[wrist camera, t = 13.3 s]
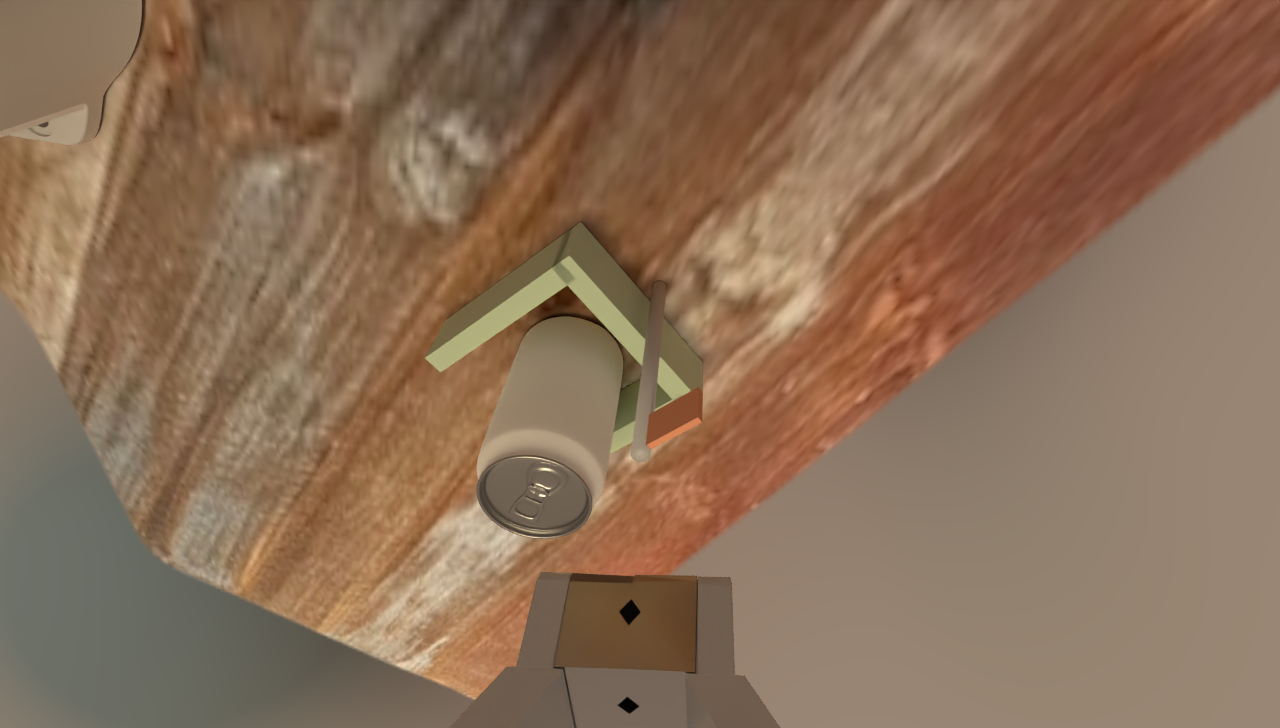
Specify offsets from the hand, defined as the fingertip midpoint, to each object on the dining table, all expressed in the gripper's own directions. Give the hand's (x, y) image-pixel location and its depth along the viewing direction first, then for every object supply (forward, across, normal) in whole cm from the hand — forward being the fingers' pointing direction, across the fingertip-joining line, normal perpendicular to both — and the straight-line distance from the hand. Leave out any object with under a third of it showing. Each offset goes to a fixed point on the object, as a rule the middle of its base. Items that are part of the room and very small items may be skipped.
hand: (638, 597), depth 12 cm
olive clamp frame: (+29, +5, +13) cm, 32 cm away
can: (+29, +7, +16) cm, 34 cm away
